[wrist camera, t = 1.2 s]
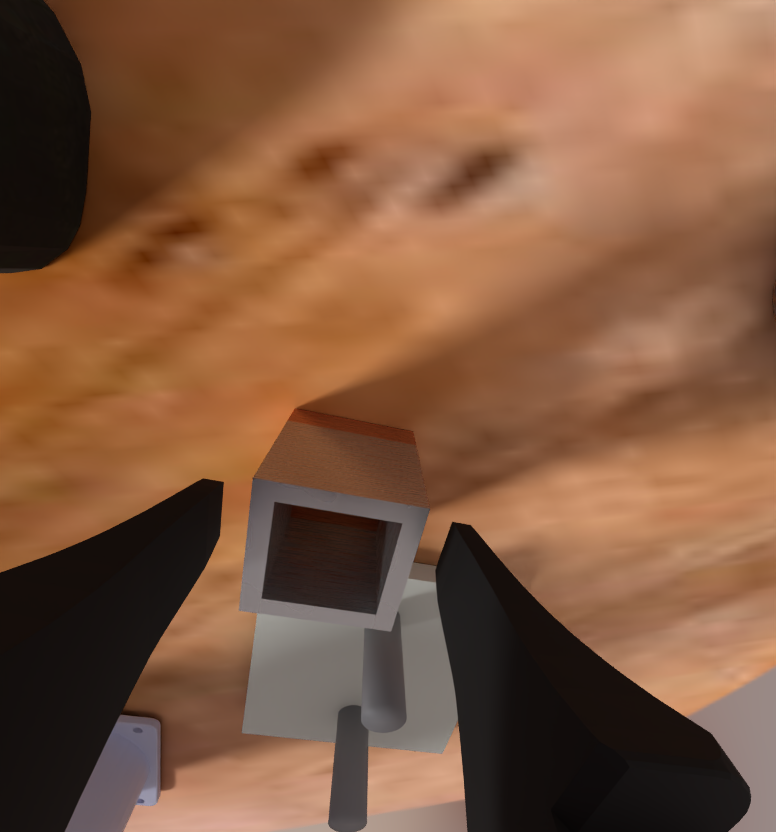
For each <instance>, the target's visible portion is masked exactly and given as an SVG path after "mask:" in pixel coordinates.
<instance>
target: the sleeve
mask: <svg viewBox="0 0 776 832" xmlns="http://www.w3.org/2000/svg"><path fill="white" fill-rule="evenodd" d="M429 511H430V506H429V502H428V497H427V493H426V488H425V484H424V479H423V475H422V470H421V465H420V461H419V456H418V452H417V447H416V443H415V438H414V434H413V432H412V431H407V430H402V429H397V428H392V427H387V426H382V425H377V424H372V423H366V422H361V421H356V420H351V419H346V418H341V417H336V416H331V415H326V414H321V413H316V412H311V411H306V410H300V409H294V411H293V412H292V414H291V416H290V417H289V419H288V421H287V422H286V424H285V426H284V427H283V429H282V431H281V432H280V434H279V436H278V437H277V439H276V441H275V442H274V444H273V445H272V447H271V449H270V450H269V452H268V454H267V455H266V457H265V459H264V460H263V462H262V464H261V465H260V467H259V469H258V470H257V472H256V474H255V475H254V477H253V483H252V492H251V501H250V511H249V520H248V530H247V539H246V548H245V558H244V567H243V577H242V586H241V595H240V605H239V611H245V612H252V613H259V614H267V615H274V616H281V617H289V618H296V619H303V620H310V621H318V622H325V623H332V624H339V625H347V626H354V627H361V628H369V629H376V630H383V631H390V632H391V630H392V627H393V624H394V621H395V618H396V615H397V612H398V608H399V605H400V602H401V599H402V596H403V593H404V589H405V586H406V583H407V580H408V577H409V574H410V571H411V567H412V564H413V561H414V558H415V555H416V552H417V548H418V545H419V542H420V539H421V536H422V533H423V530H424V526H425V523H426V520H427V517H428V514H429Z"/></svg>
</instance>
